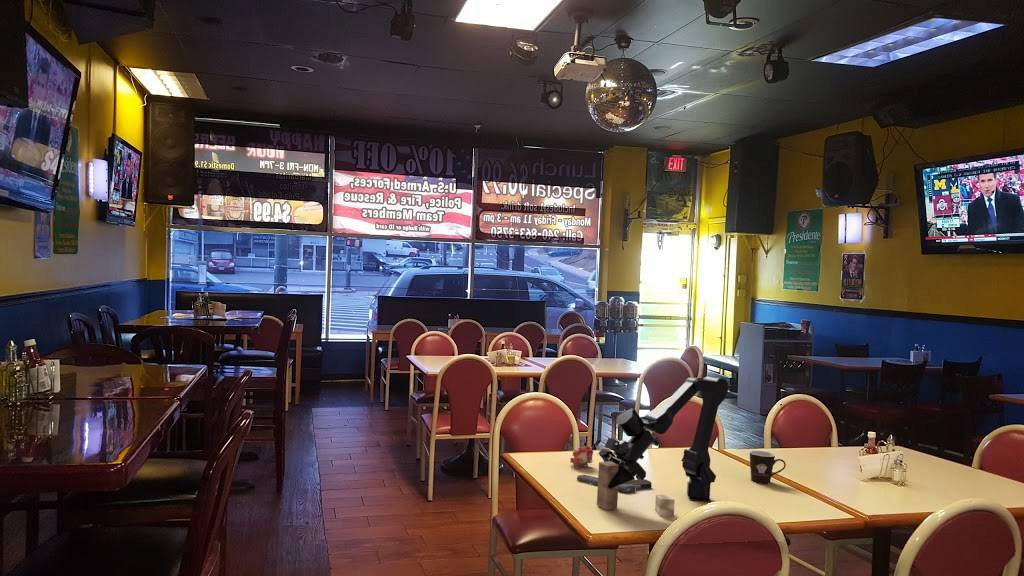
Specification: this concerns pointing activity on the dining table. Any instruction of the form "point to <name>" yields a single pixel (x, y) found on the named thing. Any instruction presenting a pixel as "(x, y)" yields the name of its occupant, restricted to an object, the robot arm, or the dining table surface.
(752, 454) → the coffee mug
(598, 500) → the walnut block
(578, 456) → the flower
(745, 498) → the dining table surface
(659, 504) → the maple block
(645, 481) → the handgun
